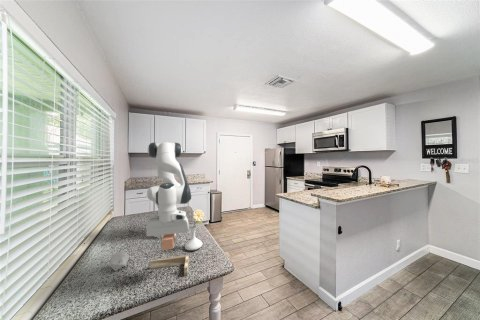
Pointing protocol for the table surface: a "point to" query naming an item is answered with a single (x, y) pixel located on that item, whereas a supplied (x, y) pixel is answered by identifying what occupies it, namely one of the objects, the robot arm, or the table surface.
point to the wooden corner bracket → (171, 262)
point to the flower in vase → (194, 242)
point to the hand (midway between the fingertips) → (168, 241)
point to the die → (118, 260)
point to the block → (168, 241)
